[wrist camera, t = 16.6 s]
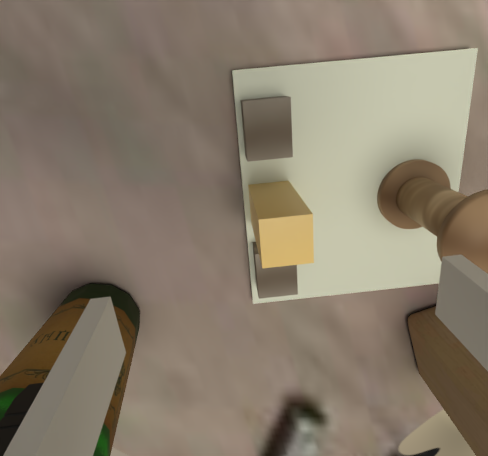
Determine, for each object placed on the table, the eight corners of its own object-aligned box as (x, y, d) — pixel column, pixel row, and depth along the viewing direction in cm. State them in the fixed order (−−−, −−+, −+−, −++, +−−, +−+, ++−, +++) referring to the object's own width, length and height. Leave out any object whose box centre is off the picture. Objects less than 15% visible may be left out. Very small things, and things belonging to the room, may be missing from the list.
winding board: (231, 70, 33) (232, 70, 32) (469, 49, 34) (477, 48, 33) (252, 298, 42) (253, 303, 41) (440, 277, 43) (446, 282, 42)
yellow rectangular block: (248, 184, 36) (258, 219, 27) (288, 180, 36) (312, 214, 27) (251, 222, 38) (262, 268, 28) (290, 218, 38) (313, 262, 28)
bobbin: (378, 162, 36) (450, 198, 25) (448, 155, 36) (550, 187, 25) (375, 229, 39) (439, 287, 28) (440, 222, 39) (530, 277, 28)
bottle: (162, 289, 41) (67, 645, 15) (135, 362, 44) (19, 755, 18) (65, 259, 39) (-242, 613, 13) (44, 338, 42) (-232, 743, 16)
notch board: (240, 99, 33) (242, 101, 30) (284, 95, 33) (290, 96, 31) (256, 283, 40) (258, 298, 37) (292, 279, 40) (297, 294, 38)
